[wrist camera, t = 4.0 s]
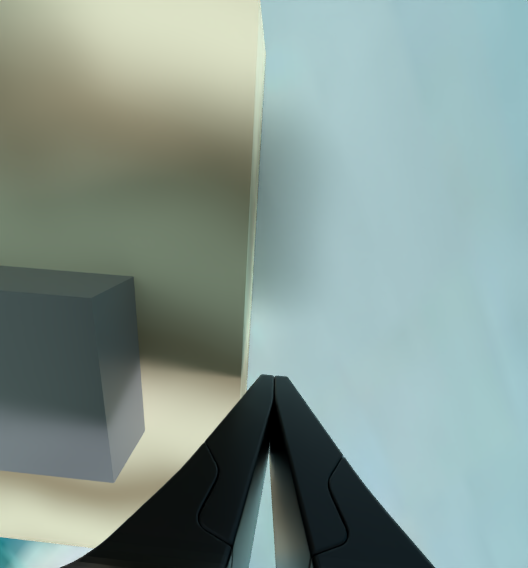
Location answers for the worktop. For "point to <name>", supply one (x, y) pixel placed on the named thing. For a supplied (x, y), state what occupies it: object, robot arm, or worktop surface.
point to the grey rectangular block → (68, 373)
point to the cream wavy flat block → (136, 213)
